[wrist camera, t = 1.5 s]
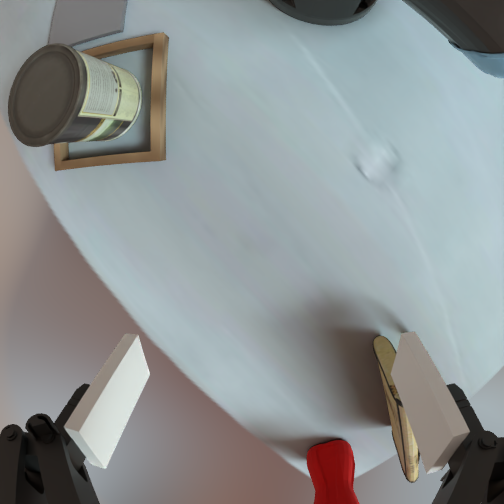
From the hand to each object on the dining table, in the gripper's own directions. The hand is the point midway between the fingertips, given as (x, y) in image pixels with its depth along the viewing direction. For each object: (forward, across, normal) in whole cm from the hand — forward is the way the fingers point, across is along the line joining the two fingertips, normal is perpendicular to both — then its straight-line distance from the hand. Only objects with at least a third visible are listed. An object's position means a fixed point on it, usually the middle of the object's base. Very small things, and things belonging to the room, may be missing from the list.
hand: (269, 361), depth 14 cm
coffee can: (+25, -21, +17) cm, 37 cm away
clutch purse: (+25, +22, -28) cm, 44 cm away
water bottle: (+25, +12, -49) cm, 56 cm away
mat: (+25, -25, +34) cm, 49 cm away
